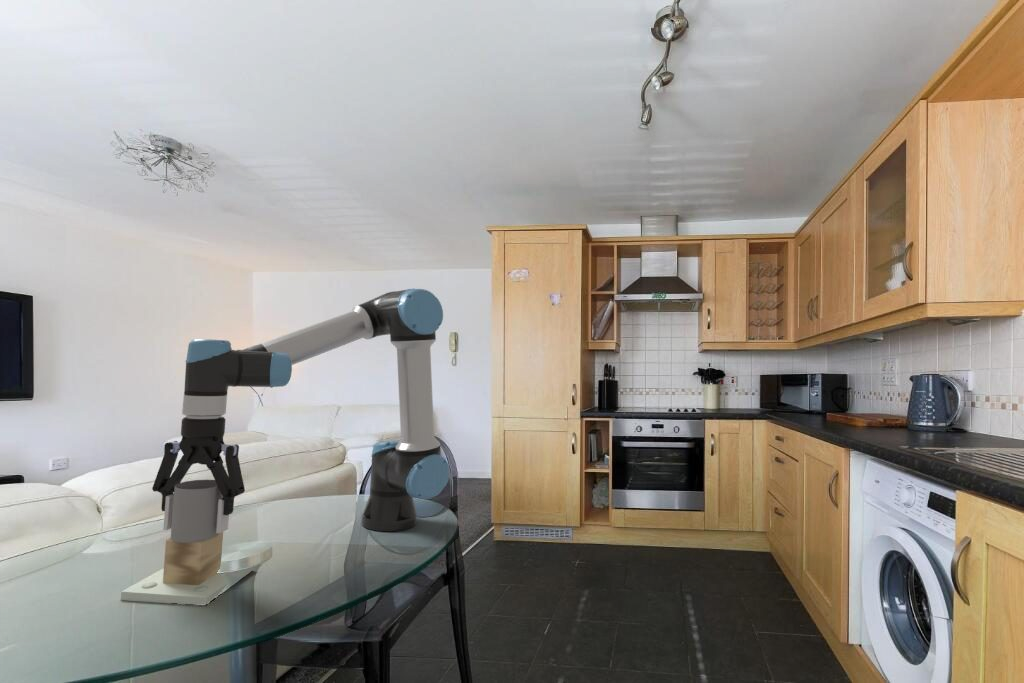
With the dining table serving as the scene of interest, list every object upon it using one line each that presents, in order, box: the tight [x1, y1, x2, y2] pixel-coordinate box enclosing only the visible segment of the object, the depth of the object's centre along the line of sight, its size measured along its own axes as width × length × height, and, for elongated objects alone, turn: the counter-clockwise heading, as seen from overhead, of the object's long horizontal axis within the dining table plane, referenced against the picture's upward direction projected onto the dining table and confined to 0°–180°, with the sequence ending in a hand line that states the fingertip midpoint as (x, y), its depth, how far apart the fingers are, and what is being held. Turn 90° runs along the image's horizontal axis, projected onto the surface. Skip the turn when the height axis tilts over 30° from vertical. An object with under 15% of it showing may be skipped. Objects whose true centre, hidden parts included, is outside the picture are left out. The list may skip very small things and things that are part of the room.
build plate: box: [120, 567, 228, 605], centre depth 103 cm, size 16×16×2 cm
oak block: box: [163, 531, 224, 585], centre depth 103 cm, size 7×7×8 cm
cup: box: [170, 479, 223, 543], centre depth 103 cm, size 8×8×10 cm
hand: (196, 529), depth 103 cm, fingers open, 10 cm apart
